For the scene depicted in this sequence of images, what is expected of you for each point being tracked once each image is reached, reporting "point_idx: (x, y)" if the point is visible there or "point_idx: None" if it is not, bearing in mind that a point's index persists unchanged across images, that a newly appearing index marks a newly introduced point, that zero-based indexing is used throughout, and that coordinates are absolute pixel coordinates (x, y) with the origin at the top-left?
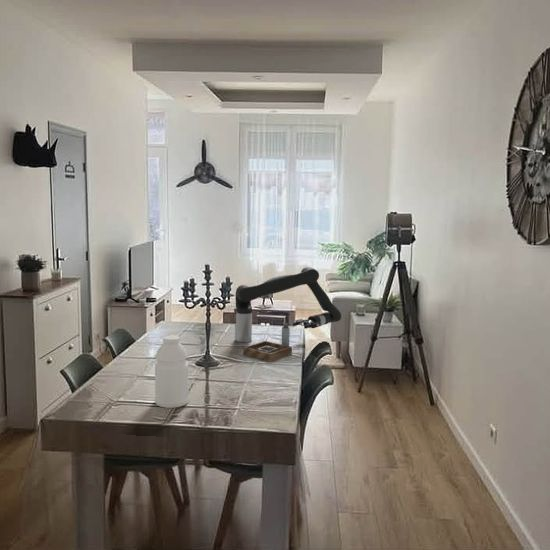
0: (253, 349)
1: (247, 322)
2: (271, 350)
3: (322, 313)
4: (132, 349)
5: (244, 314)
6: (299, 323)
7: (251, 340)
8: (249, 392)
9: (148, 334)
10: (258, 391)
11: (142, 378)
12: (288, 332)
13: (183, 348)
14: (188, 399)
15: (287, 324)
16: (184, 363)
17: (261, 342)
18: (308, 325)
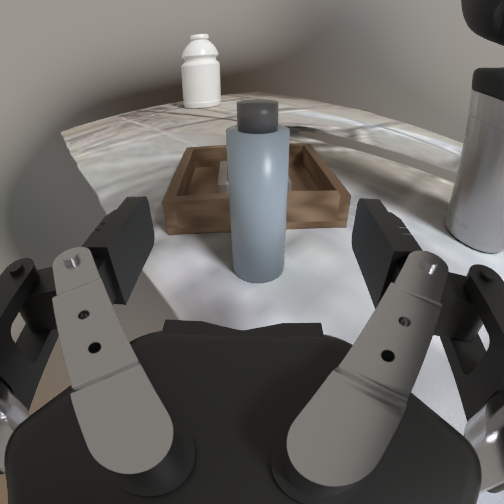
0: None
1: (467, 133)
2: (222, 168)
3: None
4: (439, 135)
5: (471, 92)
6: (463, 391)
7: (465, 243)
8: (135, 127)
9: None
10: (124, 131)
11: (295, 107)
12: (227, 160)
13: (187, 47)
14: (186, 105)
15: (244, 102)
16: (184, 62)
17: (329, 178)
18: (92, 235)
